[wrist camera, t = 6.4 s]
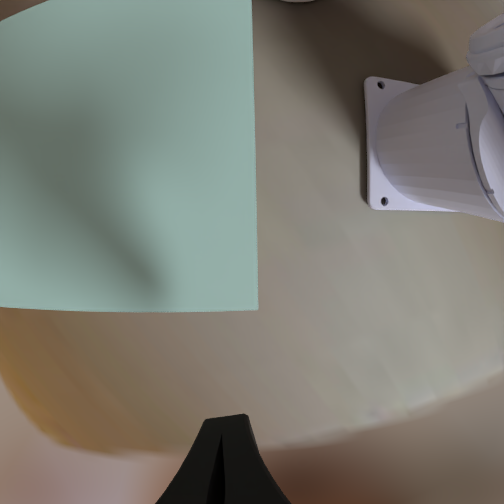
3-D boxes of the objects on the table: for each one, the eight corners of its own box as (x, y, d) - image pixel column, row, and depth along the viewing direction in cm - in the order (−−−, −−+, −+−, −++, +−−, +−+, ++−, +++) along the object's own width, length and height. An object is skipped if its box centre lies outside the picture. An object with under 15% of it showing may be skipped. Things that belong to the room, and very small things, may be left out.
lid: (249, -28, 10) (250, -34, 10) (257, 304, 14) (258, 310, 13) (-11, 32, 10) (-17, 29, 9) (-9, 301, 13) (-15, 305, 13)
